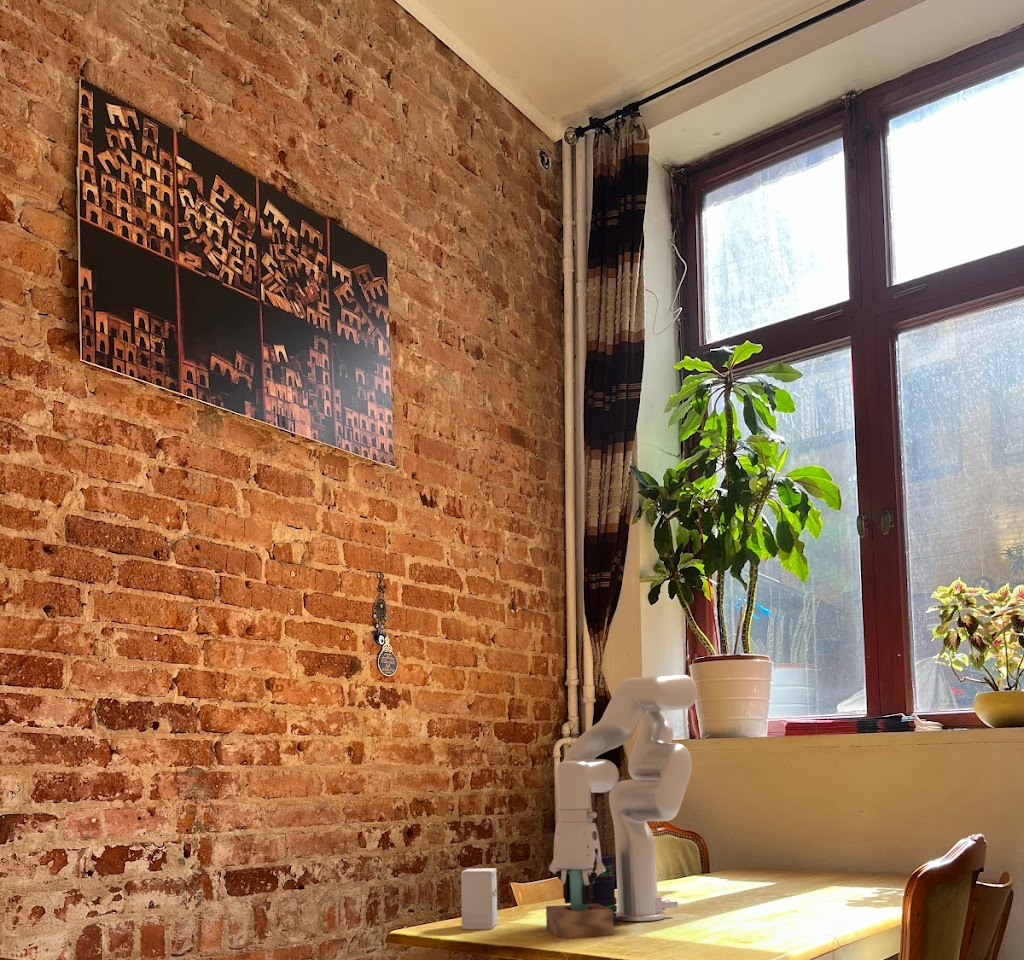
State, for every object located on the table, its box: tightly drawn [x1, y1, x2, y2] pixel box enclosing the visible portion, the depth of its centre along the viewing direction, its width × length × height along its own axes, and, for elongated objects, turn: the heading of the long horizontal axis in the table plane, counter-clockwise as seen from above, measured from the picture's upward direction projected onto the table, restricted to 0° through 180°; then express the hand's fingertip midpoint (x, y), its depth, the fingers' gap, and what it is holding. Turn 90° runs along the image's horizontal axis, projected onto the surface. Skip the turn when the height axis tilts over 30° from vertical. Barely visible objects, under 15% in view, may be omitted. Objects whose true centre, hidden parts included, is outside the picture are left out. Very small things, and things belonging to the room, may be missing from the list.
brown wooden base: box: [545, 903, 615, 939], centre depth 250 cm, size 12×12×5 cm
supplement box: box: [460, 867, 498, 930], centre depth 261 cm, size 7×7×13 cm
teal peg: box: [569, 870, 589, 911], centre depth 252 cm, size 4×4×14 cm
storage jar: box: [589, 853, 618, 926], centre depth 263 cm, size 10×10×15 cm
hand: (578, 902), depth 251 cm, fingers closed on teal peg, 3 cm apart
